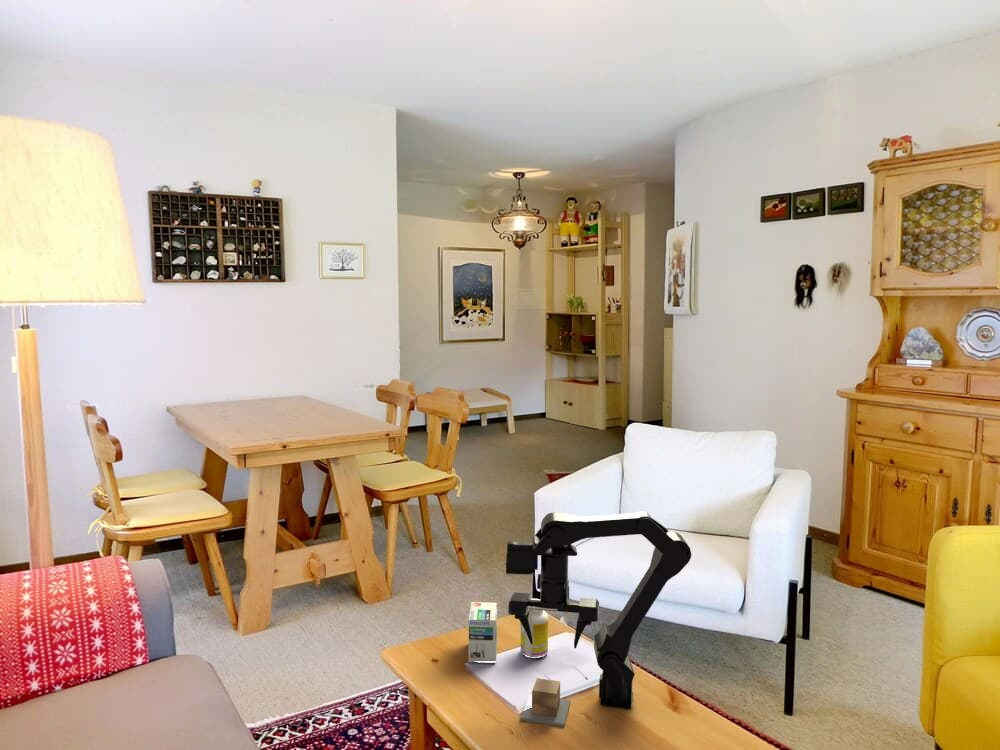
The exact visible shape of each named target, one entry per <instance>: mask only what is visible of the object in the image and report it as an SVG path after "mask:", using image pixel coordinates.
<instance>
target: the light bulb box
mask: <svg viewBox="0 0 1000 750" xmlns="http://www.w3.org/2000/svg"><path fill="white" fill-rule="evenodd" d="M497 653H498V603H497V602H486V601H485V602H481V601H480V602H479V601H471V602H470V607H469V614H468V663H469V662H474V661H496V662H497Z"/></svg>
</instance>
